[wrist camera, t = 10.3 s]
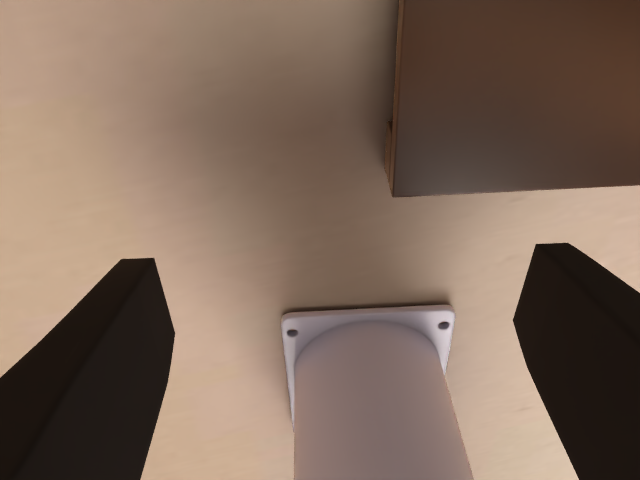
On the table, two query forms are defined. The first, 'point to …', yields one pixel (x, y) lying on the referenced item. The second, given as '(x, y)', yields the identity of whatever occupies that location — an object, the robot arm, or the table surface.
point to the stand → (514, 96)
